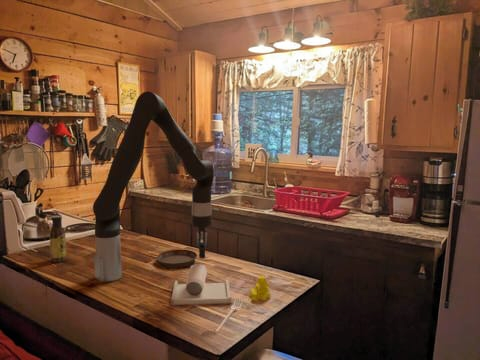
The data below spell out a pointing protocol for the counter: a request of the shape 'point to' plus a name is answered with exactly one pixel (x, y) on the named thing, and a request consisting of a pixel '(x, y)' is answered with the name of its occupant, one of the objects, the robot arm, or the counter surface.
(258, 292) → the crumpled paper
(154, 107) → the robot arm
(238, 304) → the fork
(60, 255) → the sauce bottle
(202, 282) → the can
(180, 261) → the plant saucer
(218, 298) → the tray
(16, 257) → the counter surface
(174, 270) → the counter surface
